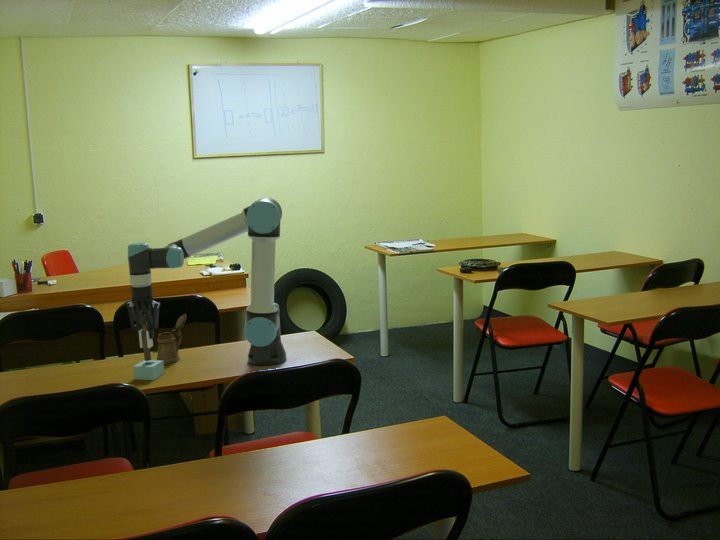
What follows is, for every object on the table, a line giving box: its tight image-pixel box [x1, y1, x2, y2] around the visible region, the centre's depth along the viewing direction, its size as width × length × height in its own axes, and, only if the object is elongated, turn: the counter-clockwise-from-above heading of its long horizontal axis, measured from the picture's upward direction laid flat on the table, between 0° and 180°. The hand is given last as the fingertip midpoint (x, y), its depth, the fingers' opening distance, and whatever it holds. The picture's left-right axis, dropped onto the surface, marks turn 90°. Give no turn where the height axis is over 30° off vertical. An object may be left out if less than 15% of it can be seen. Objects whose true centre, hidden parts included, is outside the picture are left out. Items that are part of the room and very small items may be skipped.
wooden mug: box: [156, 313, 187, 365], centre depth 280 cm, size 9×14×18 cm, turn 125°
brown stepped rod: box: [141, 314, 152, 361], centre depth 259 cm, size 2×2×17 cm
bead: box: [132, 359, 165, 381], centre depth 261 cm, size 8×8×5 cm
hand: (146, 346), depth 259 cm, fingers closed on brown stepped rod, 2 cm apart
